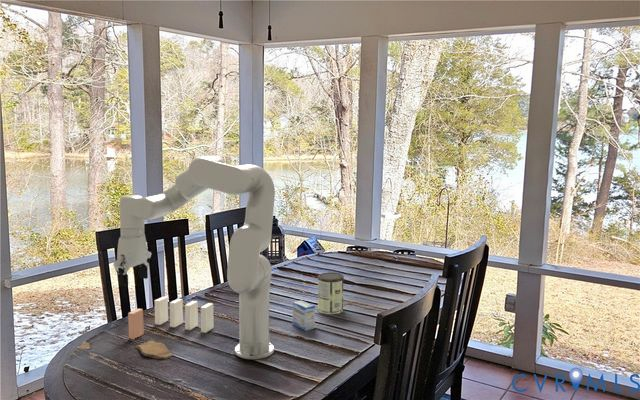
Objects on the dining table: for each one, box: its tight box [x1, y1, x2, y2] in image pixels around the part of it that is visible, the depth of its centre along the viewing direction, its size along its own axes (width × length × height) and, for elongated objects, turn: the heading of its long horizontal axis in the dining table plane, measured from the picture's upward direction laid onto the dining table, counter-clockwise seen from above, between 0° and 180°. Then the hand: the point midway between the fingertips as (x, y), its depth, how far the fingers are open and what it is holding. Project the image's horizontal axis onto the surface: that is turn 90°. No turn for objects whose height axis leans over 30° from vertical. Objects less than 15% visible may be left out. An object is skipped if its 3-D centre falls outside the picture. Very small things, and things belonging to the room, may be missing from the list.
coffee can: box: [317, 272, 345, 315], centre depth 203 cm, size 10×10×14 cm
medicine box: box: [291, 300, 316, 332], centre depth 186 cm, size 8×4×9 cm, turn 40°
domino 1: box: [169, 298, 184, 328], centre depth 186 cm, size 2×5×9 cm, turn 160°
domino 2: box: [184, 300, 199, 331], centre depth 184 cm, size 2×5×9 cm, turn 160°
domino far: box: [154, 296, 169, 326], centre depth 188 cm, size 2×5×9 cm, turn 160°
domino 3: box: [200, 302, 215, 334], centre depth 182 cm, size 2×5×9 cm, turn 160°
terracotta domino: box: [127, 308, 145, 340], centre depth 175 cm, size 2×5×9 cm, turn 160°
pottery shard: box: [134, 340, 173, 360], centre depth 164 cm, size 8×3×15 cm
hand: (133, 281), depth 173 cm, fingers open, 9 cm apart
